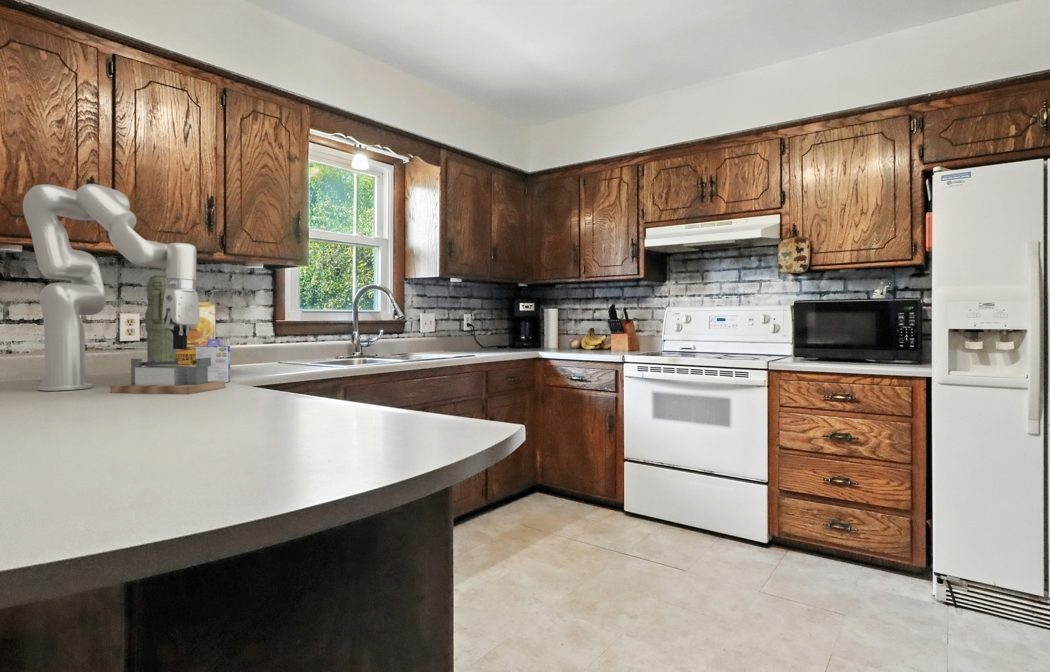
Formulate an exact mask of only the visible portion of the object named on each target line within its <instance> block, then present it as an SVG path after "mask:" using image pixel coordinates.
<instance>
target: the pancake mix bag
mask: <svg viewBox="0 0 1050 672" xmlns="http://www.w3.org/2000/svg"><path fill="white" fill-rule="evenodd" d="M212 302H213V301H208V300H205V301H204V300H202V301H201V300H199V313H200V320H199V324H197V325H195V328H194V329H191V330H190V331H189V335H188V336H187V349H176V361H184V360H196V347H197V346H207V342H208V339H216V332H217V317H216V316H217V307H216V304H214V303H213V304H212ZM209 343H216V341H210V342H209ZM177 365H196V363H193V364H177Z"/></svg>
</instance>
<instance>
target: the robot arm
mask: <svg viewBox="0 0 1050 672" xmlns="http://www.w3.org/2000/svg"><path fill="white" fill-rule="evenodd" d="M130 209H131V203H130V199H128V197H127V195H126V194H125V193H123V192H121V191H120V190H117V189H114V188H110V187H107V186H103V185H100V184H96V183H87V184H82V185H81V186H80V187H78V188H77V189H76V190H74V189H71V188H67V187H63V186H59V185H54V184H48V183H46V184H45V183H44V184H42V183H41V184H37V185H34V186H32V187H30V189H29V190H27V192H26V193H25V195H24V198H23V201H22V211H23V216H24V219H25V221H26V224H27V227H28V229H29V232H30V234H31V240H32V245H33V248H34V250H33V251H34V253H35V257H36V261H37V262H36V263H37V266H38V269H39V271H40V273H41V274H42V275H43V276H44V277H45V278H49V279H53V280H54V279H55V280H61V281H62V280H63V281H70V282H63V281H62V282H61V281H60V282H53V283H48V284H47V285H45V286H44V287H43V288H42V289H41V290H40V293H39V297H38V298H39V306H40V309H41V313H42V319H43V327H44V328H43V329H44V331H43V332H44V336H43V337H44V373H41V375H40V376H37V377H36V378H35V381H36V382H37V383H41V385H39V386H38V389H37V390H38V391H44V392H45V391H46V392H48V391H49V392H50V391H52V392H53V391H55V392H57V391H75V390H77V391H78V390H86V389H91V388H92V387H93V384H92V383H91V382H89V383H88V382H87V381H86V377H87V376H86V329H85V324H84V322H83V320H82V319H81V316H93V315H94V316H95V315H98V314H100V313H101V312H103V311H104V309H105V307H106V305H107V304H106V303H107V295H106V291H105V286H104V281H103V277H102V273H101V269H100V265H99V263H98V260H97V259H96V258H95V257H94V256H93V255H92V254H91V253H89V252H86V251H84V250H78V249H73V248H72V245H71V243H70V240H69V235H68V232H67V229H66V228H65V226H64V225H63V224H62V222H61V221H60V220H59V219H58V216H59V217H63V218H69V219H71V220H72V219H73V220H78V221H96V223H98V224H99V225H100V226H101V227H102V228H103V229H104V230H106V232H108V239H109V240H110V243H111V245H112V246H113V247H114V249H115V250H116V251H117V252H118V253H119V254H120V255H122V256H123V257H124V258H125V259H126V260H128V261H129V262H130V263H132V264H134V265H136V266H139V267H145V268H154V269H160V270H166V271H165V273H166V275H165V276H166V291H165V295H164V301H163V322H164V323H165V324H166V325H165V328H166V329H169V330H171V332H172V335H173V349H187V336H188V335H189V331H190V330H191V329H194V328H195V325H197V324H199V320H200V313H199V301H200V300H199V295H198V291H197V248H196V246H195V245H193V244H191V243H185V242H171V243H168V244H167V243H163V242H159V241H153V240H148V239H145V238H143V236H141V235H140V234H138V233H137V232H136V231H135V230H134V228H135V226H136V225H137V216H136V214H134V213H133V212H132V211H131V210H130Z"/></svg>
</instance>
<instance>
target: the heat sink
mask: <svg viewBox="0 0 1050 672" xmlns="http://www.w3.org/2000/svg"><path fill="white" fill-rule="evenodd" d="M188 367H196V365H159V366H148V367H146V366H142V367H137V368H135V385H150V386H177V385H184V384H189V374H188Z"/></svg>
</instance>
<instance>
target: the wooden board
mask: <svg viewBox="0 0 1050 672" xmlns="http://www.w3.org/2000/svg"><path fill="white" fill-rule="evenodd" d="M109 387H110V388H109V389H110V390H109V391H110V393H111V394H155V395H156V394H160V395H161V394H164V395H165V394H167V395H193V394H198V393H203V392H204V393H205V392H209V391H215V390H222V389H226V382H225V381H208V383H205V384H198V385H189V384H184V385H177V386H150V385H135V384H131V383H121V384H112V385H110V386H109Z"/></svg>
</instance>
